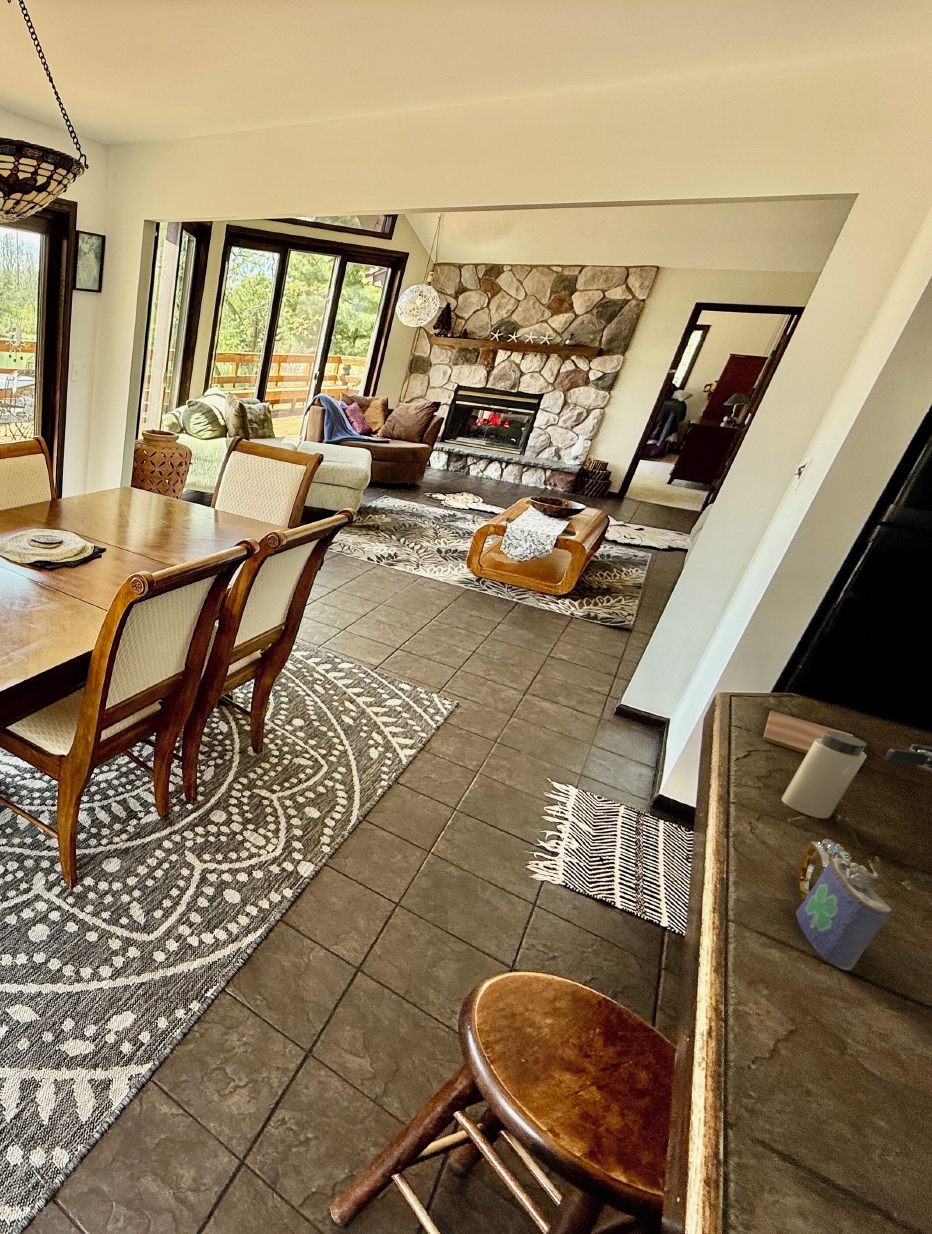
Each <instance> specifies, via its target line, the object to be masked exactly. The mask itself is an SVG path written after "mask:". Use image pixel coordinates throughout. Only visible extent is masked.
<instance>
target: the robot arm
mask: <svg viewBox="0 0 932 1234" xmlns="http://www.w3.org/2000/svg"><path fill="white" fill-rule="evenodd" d="M883 760H884V761H885V762H886V763H888V764H890V765H898V766H904V767H912V768H918V769H922V770H925V771H928V772H931V773H932V746H930V745H923V744H918V743H912V744H911V745H910V747H909V748H908V749H900V748H890V749H889V750H888V751H887V753H886V754H885V756H884V758H883Z"/></svg>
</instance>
